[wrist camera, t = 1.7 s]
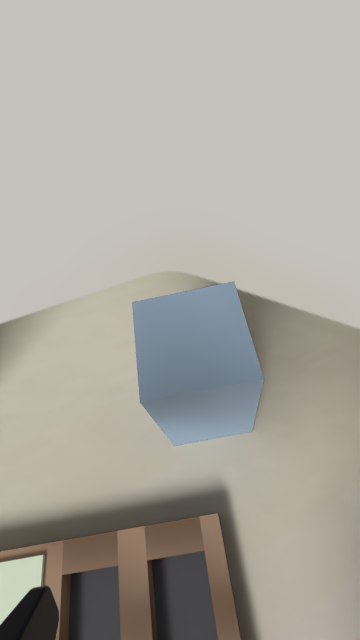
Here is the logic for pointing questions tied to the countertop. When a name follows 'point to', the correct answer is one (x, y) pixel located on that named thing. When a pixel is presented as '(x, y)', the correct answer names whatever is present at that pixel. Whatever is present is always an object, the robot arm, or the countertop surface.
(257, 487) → the countertop surface
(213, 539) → the board
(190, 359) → the blue block
